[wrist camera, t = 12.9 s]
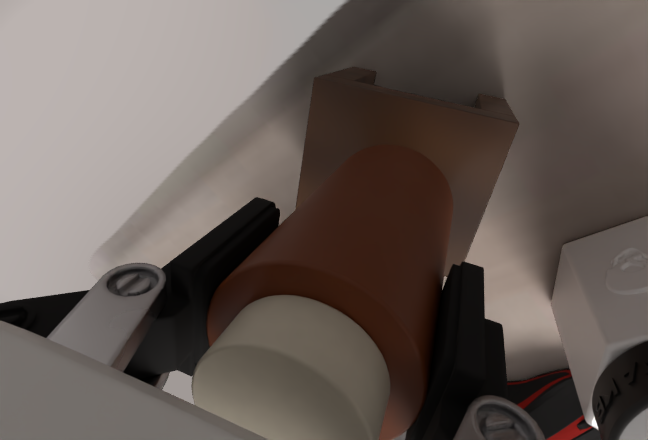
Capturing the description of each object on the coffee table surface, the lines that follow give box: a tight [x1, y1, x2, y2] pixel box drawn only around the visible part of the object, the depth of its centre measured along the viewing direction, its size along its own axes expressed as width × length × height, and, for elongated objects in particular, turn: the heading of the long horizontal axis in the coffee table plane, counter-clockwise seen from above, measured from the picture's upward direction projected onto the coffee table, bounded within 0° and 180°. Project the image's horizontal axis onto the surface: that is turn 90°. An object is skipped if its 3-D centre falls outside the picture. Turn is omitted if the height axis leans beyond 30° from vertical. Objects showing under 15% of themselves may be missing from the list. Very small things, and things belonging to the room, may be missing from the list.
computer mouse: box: [507, 368, 602, 440], centre depth 28 cm, size 6×11×4 cm, turn 129°
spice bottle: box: [192, 145, 453, 440], centre depth 12 cm, size 5×5×10 cm
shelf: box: [295, 67, 519, 277], centre depth 22 cm, size 8×9×7 cm
